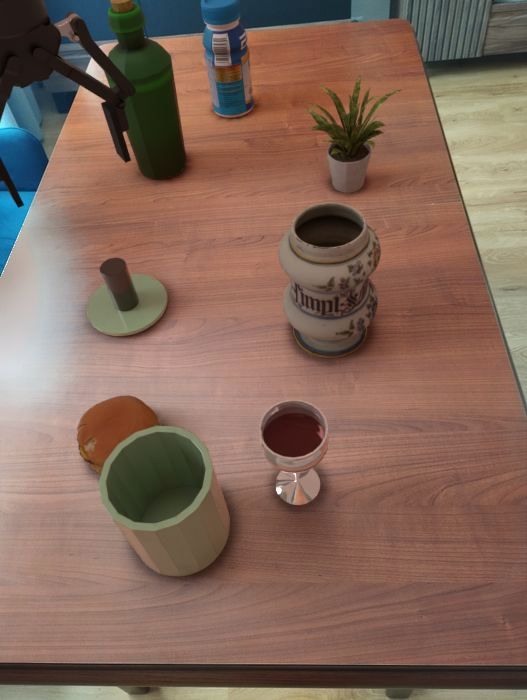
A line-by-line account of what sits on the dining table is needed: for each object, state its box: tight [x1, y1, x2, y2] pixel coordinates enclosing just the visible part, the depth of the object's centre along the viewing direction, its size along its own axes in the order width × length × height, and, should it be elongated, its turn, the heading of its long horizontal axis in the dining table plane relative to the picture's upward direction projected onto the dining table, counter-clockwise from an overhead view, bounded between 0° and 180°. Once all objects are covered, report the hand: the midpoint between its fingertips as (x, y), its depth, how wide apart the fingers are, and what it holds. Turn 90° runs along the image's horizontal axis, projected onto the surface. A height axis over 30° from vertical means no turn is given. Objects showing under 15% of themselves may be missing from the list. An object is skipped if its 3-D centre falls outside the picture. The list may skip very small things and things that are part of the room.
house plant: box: [305, 74, 403, 193], centre depth 92 cm, size 14×14×16 cm
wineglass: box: [257, 398, 330, 506], centre depth 60 cm, size 7×7×12 cm
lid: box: [86, 256, 169, 337], centre depth 81 cm, size 12×12×8 cm
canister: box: [98, 425, 231, 577], centre depth 58 cm, size 10×10×12 cm
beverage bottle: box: [200, 0, 255, 119], centre depth 108 cm, size 8×8×20 cm
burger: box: [76, 394, 163, 475], centre depth 68 cm, size 10×9×5 cm
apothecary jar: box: [277, 201, 382, 359], centre depth 71 cm, size 12×12×18 cm
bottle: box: [103, 0, 187, 180], centre depth 95 cm, size 11×11×28 cm
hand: (72, 178), depth 70 cm, fingers open, 13 cm apart
